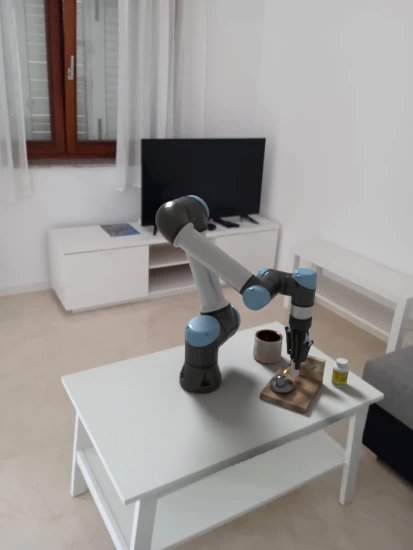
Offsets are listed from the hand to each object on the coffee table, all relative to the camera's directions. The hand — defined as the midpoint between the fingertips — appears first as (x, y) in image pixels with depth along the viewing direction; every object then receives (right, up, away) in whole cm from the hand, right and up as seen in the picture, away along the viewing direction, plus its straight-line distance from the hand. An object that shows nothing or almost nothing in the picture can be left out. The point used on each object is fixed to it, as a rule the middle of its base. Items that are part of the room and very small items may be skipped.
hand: (293, 375), depth 165 cm
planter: (-7, +3, +21) cm, 22 cm away
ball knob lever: (-3, -3, +1) cm, 5 cm away
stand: (-1, -5, +1) cm, 5 cm away
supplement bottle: (+17, -4, +6) cm, 19 cm away
